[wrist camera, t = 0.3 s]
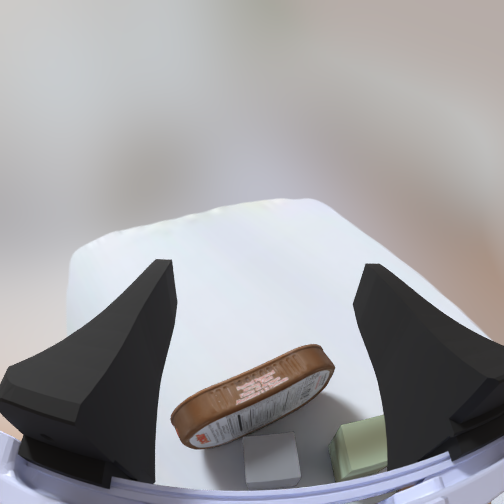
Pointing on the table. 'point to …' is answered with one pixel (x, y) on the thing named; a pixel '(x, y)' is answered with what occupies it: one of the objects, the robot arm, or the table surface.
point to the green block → (359, 449)
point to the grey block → (271, 461)
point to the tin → (252, 398)
